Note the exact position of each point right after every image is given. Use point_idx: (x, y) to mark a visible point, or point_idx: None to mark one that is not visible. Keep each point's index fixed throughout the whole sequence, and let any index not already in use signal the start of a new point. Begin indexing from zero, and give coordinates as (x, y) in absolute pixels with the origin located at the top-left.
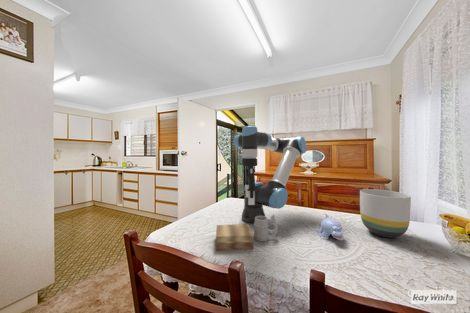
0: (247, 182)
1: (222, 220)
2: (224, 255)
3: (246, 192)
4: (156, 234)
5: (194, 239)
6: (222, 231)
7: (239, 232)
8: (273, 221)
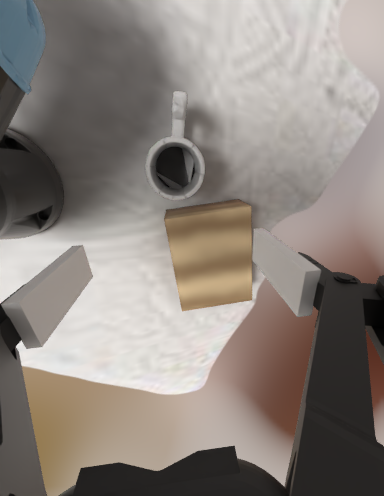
0: (15, 361)
1: None
2: None
3: (75, 292)
4: (177, 391)
5: (194, 329)
6: (223, 290)
7: (231, 247)
8: (186, 108)
